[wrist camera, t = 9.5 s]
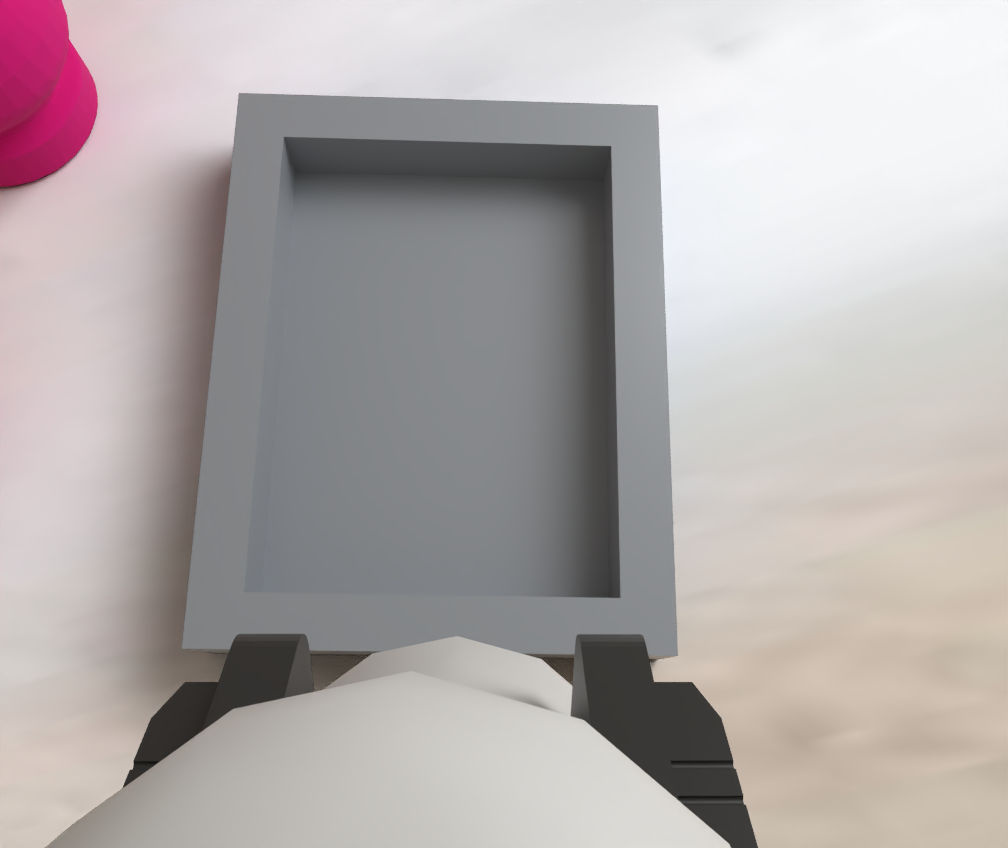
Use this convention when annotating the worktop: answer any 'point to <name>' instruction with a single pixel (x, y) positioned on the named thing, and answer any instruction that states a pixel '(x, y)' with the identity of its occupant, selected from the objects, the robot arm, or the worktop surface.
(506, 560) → the tray
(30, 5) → the pepper mill
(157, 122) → the worktop surface
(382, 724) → the salt shaker
